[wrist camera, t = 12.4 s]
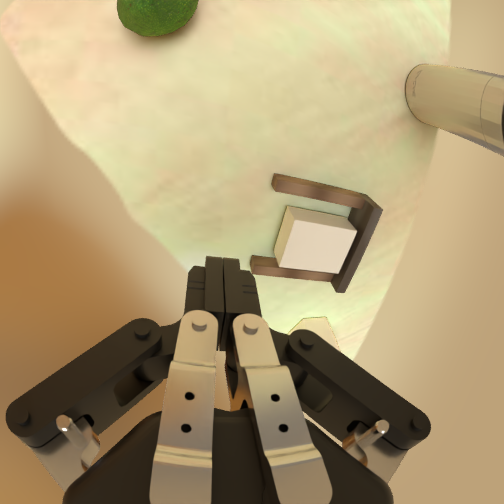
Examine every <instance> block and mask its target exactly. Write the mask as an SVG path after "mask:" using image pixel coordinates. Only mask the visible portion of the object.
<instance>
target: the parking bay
mask: <svg viewBox="0 0 504 504" xmlns="http://www.w3.org/2000/svg"><path fill="white" fill-rule="evenodd" d="M271 184H272V186H273V188H274V190H275V191H277V192H282V193H287V194H292V195H298V196H303V197H308V198H312V199H317V200H322V201H327V202H331V203H336V204H340V205H345V206H349V207H352V209H351V212H350V215H349V217H348V221H349V222H350V223H351V224H352V225H353V227H354V228H355V229H356V230H357V233H356V235H355V238H354V240H353V242H352V245H351V247H350V249H349V251H348V254H347V256H346V258H345V260H344V262H343V265H342V267H341V269H340V271H339V273H338V274H337V273H328V272H319V271H310V270H301V269H293V268H284V267H279V265H278V262H277V259H276V258H270V257H262V256H254V255H252V258H251V261H250V267H251V272H252V274H256V275H266V276H275V277H285V278H295V279H305V280H315V281H326V282H331V284H332V285H333V287H334V289H335V291H336V293H345V291H346V289H347V287H348V285H349V283H350V281H351V279H352V277H353V275H354V273H355V271H356V269H357V267H358V265H359V263H360V261H361V259H362V256H363V254H364V252H365V250H366V248H367V246H368V243H369V241H370V239H371V237H372V234H373V232H374V230H375V228H376V225H377V223H378V221H379V218H380V216H381V214H382V211H383V209H382V208H381V207H379V206H378V205H377V204H376V203H375V202H374V201H373V200H372V199H371V198H370V197H368V196H367V195H366V194H362V193H358V192H354V191H350V190H346V189H342V188H338V187H334V186H330V185H326V184H322V183H317V182H313V181H309V180H304V179H299V178H295V177H290V176H285V175H280V174H275V173H274V176H273V180H272V183H271Z"/></svg>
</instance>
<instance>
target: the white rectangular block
mask: <svg viewBox="0 0 504 504" xmlns="http://www.w3.org/2000/svg"><path fill="white" fill-rule="evenodd" d="M356 233H357V230H356V229H355V228H354V227H353V225H352V224H351V223H350V222H349V221H348V219H347V218H346V217H341V216H337V215H332V214H327V213H322V212H317V211H312V210H306V209H301V208H296V207H291V206H287V209H286V212H285V215H284V218H283V222H282V225H281V228H280V231H279V235H278V238H277V241H276V244H275V247H274V253H275V256H276V259H277V262H278V265H279V267H284V268H293V269H301V270H310V271H319V272H328V273H337V274H338V273H339V271H340V269H341V267H342V265H343V262H344V260H345V258H346V256H347V254H348V251H349V249H350V247H351V245H352V242H353V240H354V238H355V235H356Z"/></svg>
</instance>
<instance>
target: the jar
mask: <svg viewBox="0 0 504 504" xmlns="http://www.w3.org/2000/svg"><path fill="white" fill-rule="evenodd" d="M298 329H307V330H310V331H312V332H314V333H316V334H317V335H319V336H320V337H321V338H323V339H324V340H325V341H327V342H328V343H329V344H331V345H332V346H333V347H334V348H336V349H337V350H338V351H340V348H339V346H338V343H337V341H336V338H335V336H334V333H333V331H332V329H331V326H330V324H329V322H328V320H327V318H326V317H319V318H306V319H302V320H301V321H300V322H299V323H298V324H297V325H296V326H295V327H294V328H293V329H292V330H291V331H290V332H289V333H288V335H290V334H291V333H292V332H293V331H295V330H298ZM340 352H341V351H340ZM322 385H323V384H322ZM327 389H328V388H327Z"/></svg>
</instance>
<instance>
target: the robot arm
mask: <svg viewBox="0 0 504 504" xmlns="http://www.w3.org/2000/svg"><path fill="white" fill-rule="evenodd" d="M406 98H407V102H408V105H409V108H410V109H411V111H412V113H413V114H414V115H415V117H416V118H418V119H419V120H420V121H422V122H424V123H427V124H429V125H432V126H435V127H438V128H440V129H443V130H446V131H448V132H450V133H453V134H455V135H458V136H460V137H463V138H465V139H467V140H470V141H472V142H474V143H477V144H479V145H481V146H483V147H485V148H487V149H489V150H492V151H493V152H495V153H498V154H500V155H502V156H504V76H503V75H497V74H493V73H488V72H483V71H478V70H472V69H464V68H458V67H450V66H441V65H430V64H422V65H419V66H417V67H415V68H414V69H413V70H412V71H411V73H410V74H409V76H408V79H407V82H406ZM218 346H219V349H220V351H226V360H225V373H226V380H227V386H228V393H229V398H230V411H224V410H221V409H217V408H214V393H215V376H216V367H215V361H216V351H218ZM166 378H168V380H167V385H166V391H165V397H164V403H163V409H162V411H159V412H156V413H154V414H151V415H150V416H148V417H146V418H145V419H143V420H142V421H141V422H139V423H138V424H137V425H136V426H135V427H134V428H133V429H132V430H131V431H130V432H129V433H128V434H127V435H125V436H124V437H123V438H122V439H121V440H120V441H119V442H118V443H117V444H116V445H115V446H114V447H112V448H111V449H110V450H109V451H108V452H107V453H106V454H105V455H103V457H101V458H100V459H99V460H98V461H97V462H96V463H95V464H94V465H92V466H91V463H92V460H93V459H94V457H95V456H96V455H97V454H98V452H99V450H100V441H99V438H98V435H99V434H100V433H102V432H103V431H104V430H105V429H107V428H108V427H109V426H110V425H112V424H113V423H114V422H115V421H116V420H118V419H119V418H120V417H121V416H123V415H124V414H125V413H126V412H127V411H129V410H130V409H131V408H132V407H133V406H134V405H136V404H137V403H138V402H139V401H140V400H142V399H143V398H144V397H145V396H146V395H147V394H149V393H150V392H151V391H152V390H153V389H155V388H156V387H157V386H158V385H159V384H160V383H161V382H162V381H163V379H166ZM322 384H323V385H322ZM327 388H328V389H327ZM302 411H303V412H305V413H306V414H307V415H308V416H309V417H311V418H312V419H313V420H314V421H316V422H317V423H318V424H319V425H321V426H322V427H323V428H324V429H326V430H327V431H328V432H329V433H331V434H332V435H333V436H335V437H336V438H337V439H338V440H340V441H341V442H342V447H341V446H339V445H338V444H337V443H336V442H334V441H333V440H332V439H331V438H330V437H328V436H327V435H326V434H325V433H324V432H322V431H321V430H320V429H319V428H318V427H317V426H316V425H314V424H313V423H312V422H310V421H309V420H307V419H305V418H304V415H303V412H302ZM6 423H7V425H8V427H9V429H10V430H11V432H13V433H14V434H15V435H16V436H17V437H18V438H19V439H20V440H21V441H22V442H23V443H24V444H25V445H26V446H28V447H29V448H30V449H31V450H33V452H34V453H35V455H36V456H37V458H38V459H39V460H40V462H41V463H42V464H43V466H44V467H45V468H46V470H47V471H48V472H49V474H50V475H51V476H52V477H53V478H54V480H55V481H56V482H57V483H58V485H59V486H60V487H61V488H62V489H63V491H64V492H65V494H64V497H63V503H62V504H393V503H394V502H393V495H392V492H391V489H390V487H389V486H388V482H389V481H390V479H391V477H392V476H393V474H394V473H395V471H396V470H397V468H398V466H399V465H400V463H401V461H402V460H403V458H404V456H405V454H406V453H407V451H408V450H409V449H411V448H412V447H414V446H415V445H417V444H418V443H419V442H421V441H422V440H424V439H425V438H426V437H427V436H428V435H429V433H430V430H431V424H430V421H429V419H428V417H427V416H426V415H425V413H423V412H422V411H421V410H419V409H418V408H416V407H415V406H414V405H412V404H411V403H409V402H408V401H407V400H405V399H404V398H402V397H401V396H400V395H398V394H397V393H395V392H394V391H393V390H391V389H390V388H389V387H387V386H386V385H384V384H383V383H381V382H380V381H379V380H378V379H376V378H375V377H373V376H372V375H371V374H369V373H368V372H367V371H365V370H364V369H363V368H361V367H360V366H358V365H357V364H356V363H355V362H353V361H352V360H350V359H349V358H348V357H346V356H345V355H344V354H342V353H341V352H340V351H338V350H337V349H336V348H334V347H333V346H332V345H331V344H329V343H328V342H327V341H325V340H324V339H323V338H321V337H320V336H319V335H317V334H316V333H314V332H312V331H310V330H307V329H298V330H295V331H293V332H292V333H291V334H290V335H287V334H283V333H280V332H277V331H274V330H272V329H271V328H269V326H268V324H267V322H266V321H265V320H264V319H263V318H262V315H261V309H260V304H259V298H258V294H257V288H256V281H255V278H254V276H253V275H252V274H251V272H250V271H246V270H240V263H239V259H233V258H223V259H222V257H211V256H206V262H205V267H201V266H193V268H192V269H191V270H190V271H189V273H188V282H187V291H186V300H185V311H184V315H183V317H182V318H181V319H180V320H179V321H178V322H176V323H174V324H172V325H168V326H161V327H160V326H159V325H158V324H157V323H156V322H154V321H153V320H150V319H146V318H139V319H135V320H133V321H131V322H129V323H128V324H126V325H125V326H123V327H122V328H120V329H119V330H117V331H116V332H114V333H113V334H111V335H110V336H108V337H107V338H105V339H104V340H102V341H101V342H99V343H98V344H96V345H95V346H93V347H92V348H90V349H89V350H87V351H86V352H85V353H83V354H82V355H80V356H79V357H77V358H76V359H74V360H73V361H71V362H70V363H68V364H67V365H65V366H64V367H63V368H61V369H60V370H58V371H57V372H55V373H54V374H52V375H51V376H49V377H48V378H46V379H45V380H44V381H42V382H41V383H39V384H38V385H36V386H35V387H33V388H32V389H31V390H29V391H28V392H26V393H25V394H23V395H22V396H20V397H19V398H18V399H16V400H15V401H13V402H12V403H11V404H10V405H9V407H8V409H7V411H6Z"/></svg>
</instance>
